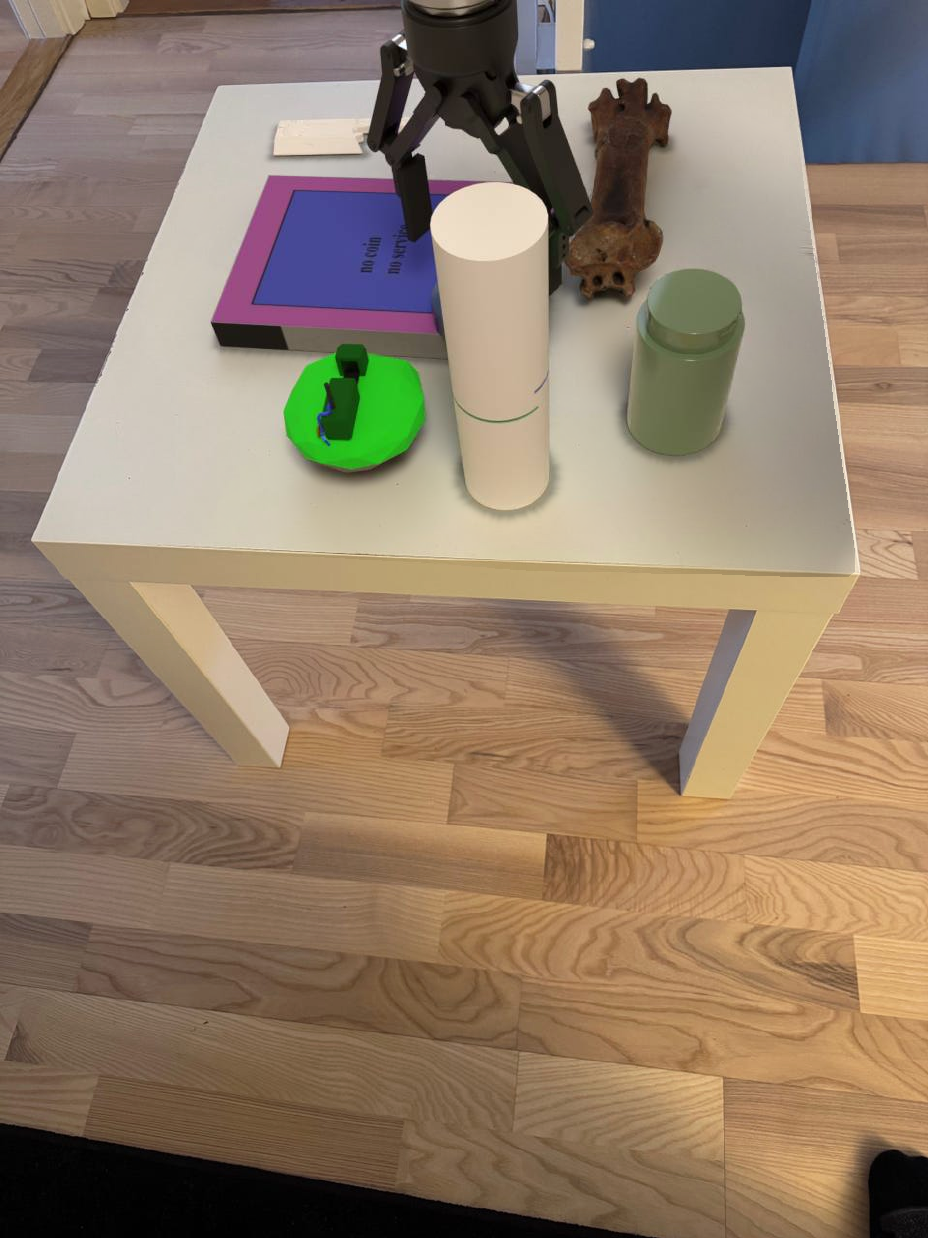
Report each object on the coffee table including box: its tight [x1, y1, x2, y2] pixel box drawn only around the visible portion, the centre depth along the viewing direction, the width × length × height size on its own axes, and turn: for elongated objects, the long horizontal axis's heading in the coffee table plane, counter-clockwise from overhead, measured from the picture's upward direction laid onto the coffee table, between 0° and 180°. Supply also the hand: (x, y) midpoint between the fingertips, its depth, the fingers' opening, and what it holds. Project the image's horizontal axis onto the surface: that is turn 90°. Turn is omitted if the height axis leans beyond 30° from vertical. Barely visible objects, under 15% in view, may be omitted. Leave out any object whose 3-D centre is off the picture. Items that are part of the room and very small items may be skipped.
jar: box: [626, 268, 746, 457], centre depth 73 cm, size 8×8×13 cm
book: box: [209, 174, 554, 360], centre depth 89 cm, size 21×3×30 cm
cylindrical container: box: [430, 181, 550, 511], centre depth 66 cm, size 7×7×25 cm
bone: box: [564, 77, 673, 299], centre depth 89 cm, size 9×8×30 cm
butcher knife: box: [273, 116, 411, 156], centre depth 101 cm, size 5×15×1 cm, turn 84°
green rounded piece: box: [282, 344, 426, 474], centre depth 76 cm, size 12×12×11 cm
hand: (482, 261), depth 77 cm, fingers open, 13 cm apart
